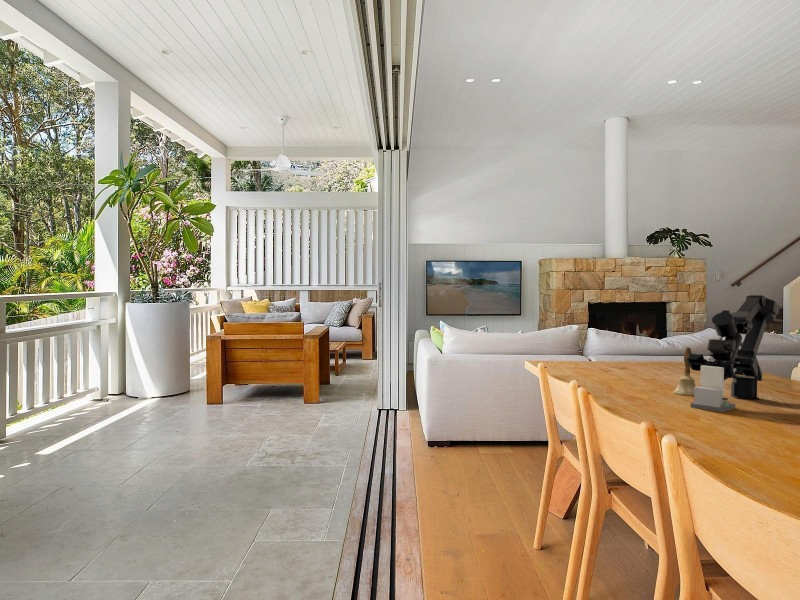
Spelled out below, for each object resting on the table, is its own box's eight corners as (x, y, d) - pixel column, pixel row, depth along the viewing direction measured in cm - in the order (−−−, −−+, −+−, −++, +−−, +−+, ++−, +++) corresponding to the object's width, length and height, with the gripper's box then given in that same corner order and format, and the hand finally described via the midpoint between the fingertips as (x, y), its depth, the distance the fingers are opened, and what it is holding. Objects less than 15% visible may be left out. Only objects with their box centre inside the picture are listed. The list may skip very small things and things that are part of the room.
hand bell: (694, 391, 195) (694, 346, 195) (704, 396, 187) (705, 349, 187) (669, 391, 196) (670, 346, 196) (678, 395, 188) (679, 348, 188)
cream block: (697, 400, 172) (697, 364, 172) (728, 405, 165) (729, 368, 165) (695, 400, 171) (695, 365, 171) (726, 405, 164) (727, 368, 164)
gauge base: (703, 403, 175) (704, 383, 175) (735, 407, 168) (735, 387, 168) (690, 407, 169) (690, 386, 169) (722, 412, 162) (723, 390, 162)
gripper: (689, 328, 179) (673, 365, 172) (755, 331, 164) (740, 372, 158) (699, 351, 184) (684, 387, 177) (764, 356, 170) (750, 396, 163)
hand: (713, 385), depth 168 cm, fingers closed, pressing on cream block
